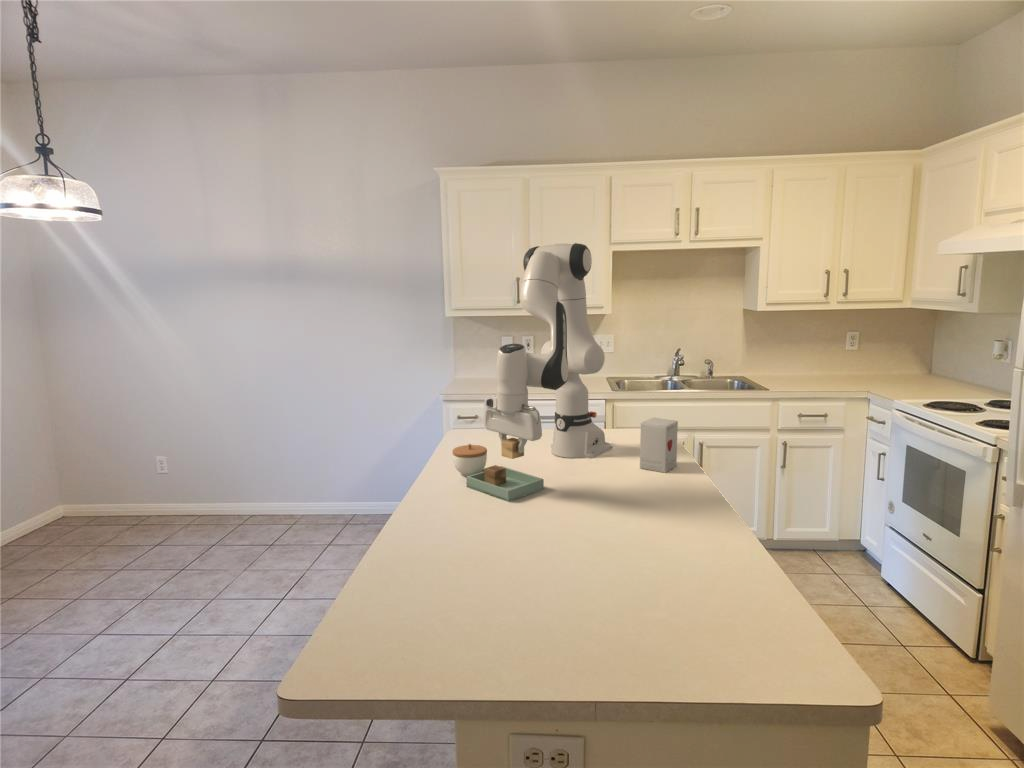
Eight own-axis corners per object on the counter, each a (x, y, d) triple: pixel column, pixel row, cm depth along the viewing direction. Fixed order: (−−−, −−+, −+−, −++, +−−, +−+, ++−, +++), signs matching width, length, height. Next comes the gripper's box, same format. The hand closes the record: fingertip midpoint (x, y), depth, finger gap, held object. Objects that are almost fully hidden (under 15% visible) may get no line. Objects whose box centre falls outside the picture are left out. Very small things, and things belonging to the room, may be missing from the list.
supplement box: (665, 473, 200) (666, 426, 197) (638, 468, 205) (639, 422, 202) (677, 466, 207) (678, 420, 204) (651, 461, 212) (652, 416, 210)
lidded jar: (489, 468, 208) (489, 440, 207) (484, 479, 198) (484, 449, 196) (456, 467, 209) (455, 439, 208) (450, 478, 199) (449, 449, 197)
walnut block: (495, 479, 195) (495, 465, 194) (506, 482, 192) (505, 468, 191) (484, 483, 192) (484, 468, 191) (494, 486, 189) (494, 471, 188)
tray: (501, 475, 200) (501, 466, 200) (543, 489, 188) (543, 479, 187) (466, 486, 191) (466, 476, 190) (508, 501, 178) (508, 491, 178)
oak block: (513, 452, 188) (512, 437, 187) (524, 455, 184) (523, 440, 184) (501, 455, 184) (501, 440, 184) (512, 459, 181) (512, 443, 180)
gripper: (547, 406, 176) (547, 455, 179) (496, 396, 191) (497, 441, 194) (530, 409, 172) (530, 459, 175) (480, 399, 187) (481, 445, 189)
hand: (512, 450), depth 184 cm, fingers closed on oak block, 4 cm apart
